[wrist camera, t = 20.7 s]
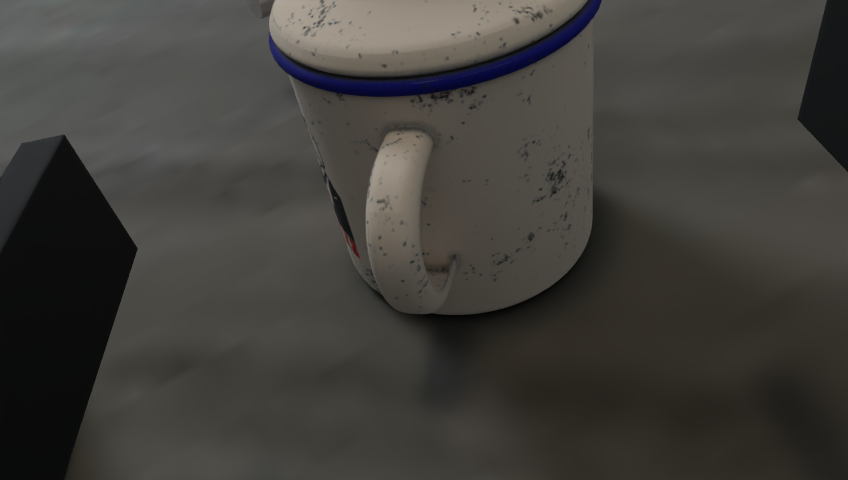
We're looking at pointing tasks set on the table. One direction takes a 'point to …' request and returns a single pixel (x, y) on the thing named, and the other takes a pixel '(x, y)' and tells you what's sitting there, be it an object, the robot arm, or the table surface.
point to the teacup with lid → (449, 140)
